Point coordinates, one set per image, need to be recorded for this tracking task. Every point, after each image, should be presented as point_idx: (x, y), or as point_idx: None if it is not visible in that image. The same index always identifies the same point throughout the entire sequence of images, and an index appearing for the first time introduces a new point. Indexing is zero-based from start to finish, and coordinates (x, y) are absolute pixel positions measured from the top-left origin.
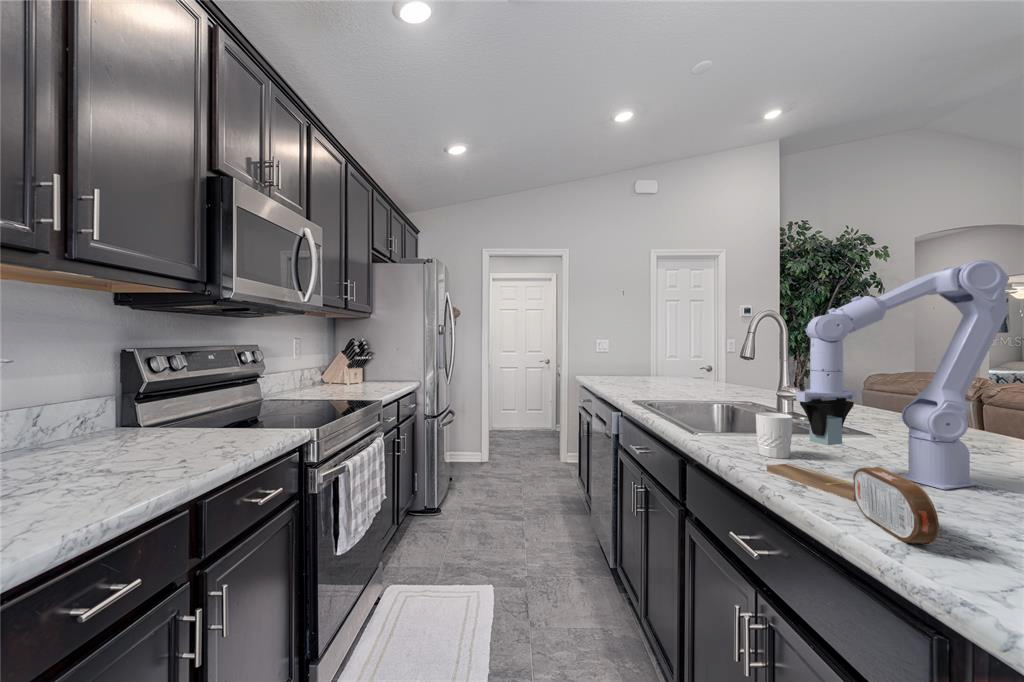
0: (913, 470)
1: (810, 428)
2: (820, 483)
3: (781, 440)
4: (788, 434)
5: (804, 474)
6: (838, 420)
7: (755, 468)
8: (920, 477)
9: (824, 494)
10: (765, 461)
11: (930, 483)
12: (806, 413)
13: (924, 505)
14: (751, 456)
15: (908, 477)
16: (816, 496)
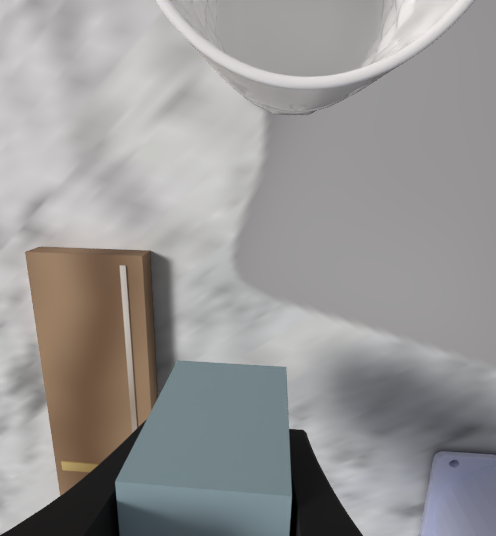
0: (453, 521)
1: (152, 413)
2: (54, 448)
3: (255, 100)
4: (307, 107)
5: (79, 377)
6: None
7: (21, 202)
8: (438, 522)
9: (41, 461)
10: (148, 126)
11: (428, 533)
12: (31, 522)
13: None
14: (152, 21)
15: (442, 482)
16: (6, 463)
